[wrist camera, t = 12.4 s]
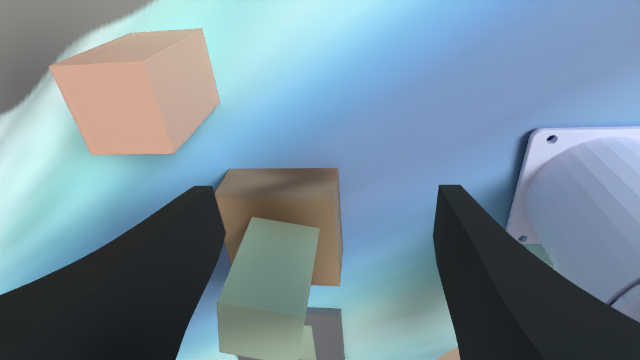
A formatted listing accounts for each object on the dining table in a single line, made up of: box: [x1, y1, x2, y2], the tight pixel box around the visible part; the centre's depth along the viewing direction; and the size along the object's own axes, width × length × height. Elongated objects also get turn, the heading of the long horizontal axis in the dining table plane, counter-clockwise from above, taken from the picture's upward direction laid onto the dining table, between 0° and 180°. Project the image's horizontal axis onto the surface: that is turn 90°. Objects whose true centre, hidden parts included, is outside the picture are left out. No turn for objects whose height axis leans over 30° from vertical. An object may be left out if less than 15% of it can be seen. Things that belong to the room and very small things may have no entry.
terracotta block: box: [49, 28, 220, 155], centre depth 18 cm, size 4×4×6 cm
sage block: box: [217, 217, 320, 360], centre depth 20 cm, size 4×4×6 cm
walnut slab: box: [214, 168, 343, 286], centre depth 24 cm, size 7×7×4 cm
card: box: [238, 308, 345, 360], centre depth 33 cm, size 10×8×1 cm
